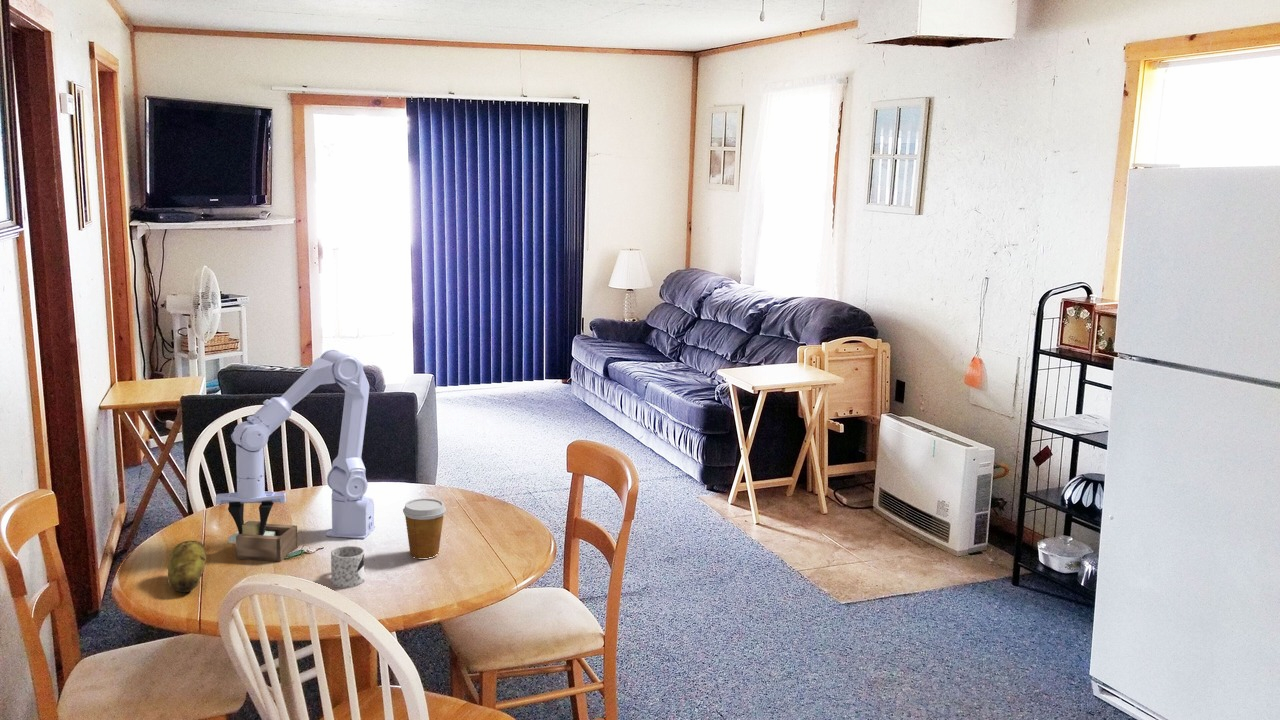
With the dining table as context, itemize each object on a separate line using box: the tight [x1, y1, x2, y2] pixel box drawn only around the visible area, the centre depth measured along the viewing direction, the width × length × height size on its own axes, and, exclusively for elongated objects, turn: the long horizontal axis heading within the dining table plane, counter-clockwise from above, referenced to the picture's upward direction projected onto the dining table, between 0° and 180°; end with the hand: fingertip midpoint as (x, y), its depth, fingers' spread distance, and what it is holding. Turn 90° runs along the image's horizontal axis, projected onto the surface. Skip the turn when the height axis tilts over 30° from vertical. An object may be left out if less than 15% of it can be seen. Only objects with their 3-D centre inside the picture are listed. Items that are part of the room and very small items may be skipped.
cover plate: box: [227, 520, 276, 544], centre depth 216 cm, size 8×6×4 cm
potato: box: [167, 540, 207, 593], centre depth 198 cm, size 8×13×8 cm, turn 3°
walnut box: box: [235, 523, 298, 563], centre depth 216 cm, size 10×9×5 cm
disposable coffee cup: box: [402, 498, 447, 559], centre depth 219 cm, size 10×10×12 cm
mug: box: [330, 545, 365, 589], centre depth 204 cm, size 10×7×7 cm, turn 21°
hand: (252, 533), depth 216 cm, fingers closed on cover plate, 4 cm apart
